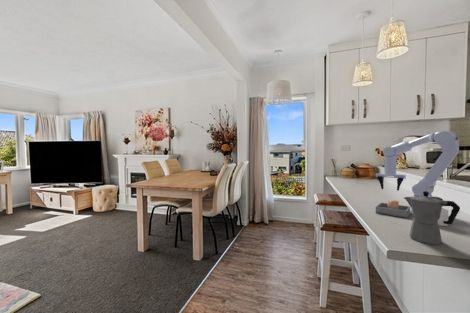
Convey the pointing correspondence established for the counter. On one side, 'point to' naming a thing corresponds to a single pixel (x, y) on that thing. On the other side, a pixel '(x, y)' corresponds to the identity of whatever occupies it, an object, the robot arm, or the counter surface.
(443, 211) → the pale grey tall block
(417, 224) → the coffeepot
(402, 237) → the counter surface
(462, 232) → the counter surface
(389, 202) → the peach rounded cylinder
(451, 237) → the counter surface
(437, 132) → the robot arm
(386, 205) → the bin
